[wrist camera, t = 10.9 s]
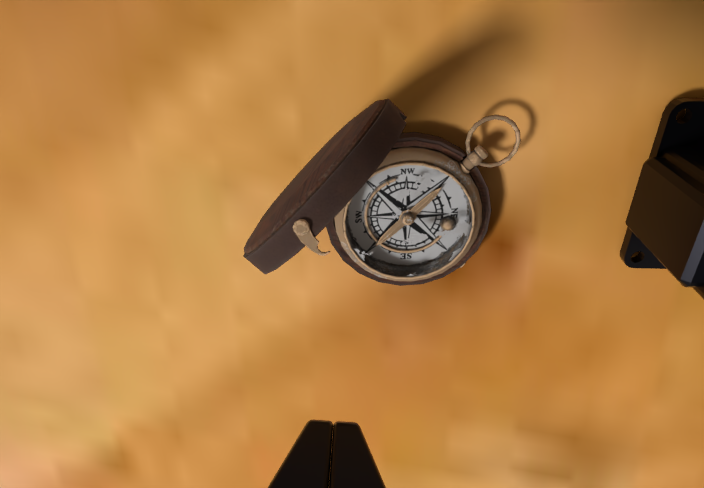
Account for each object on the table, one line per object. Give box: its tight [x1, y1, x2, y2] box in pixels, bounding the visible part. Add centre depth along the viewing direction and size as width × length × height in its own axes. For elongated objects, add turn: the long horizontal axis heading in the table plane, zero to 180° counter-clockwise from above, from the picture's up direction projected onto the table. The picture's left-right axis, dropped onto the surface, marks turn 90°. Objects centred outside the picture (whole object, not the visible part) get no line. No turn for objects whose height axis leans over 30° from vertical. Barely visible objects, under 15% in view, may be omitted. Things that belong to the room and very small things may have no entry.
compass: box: [244, 99, 521, 286], centre depth 16 cm, size 8×8×7 cm
